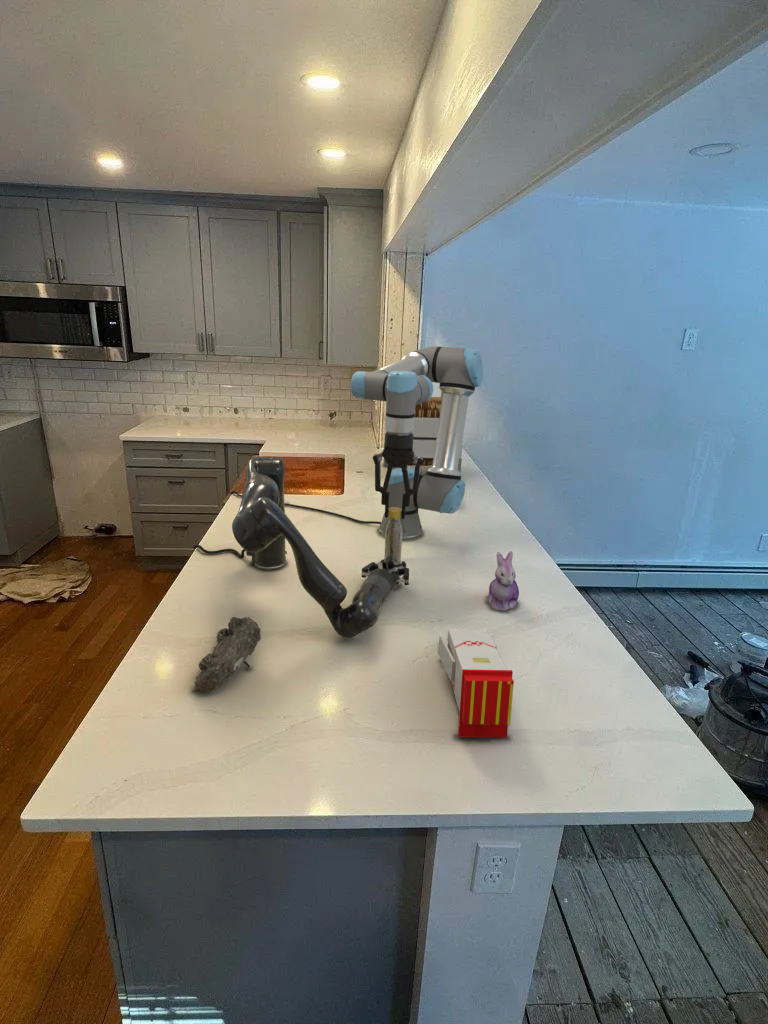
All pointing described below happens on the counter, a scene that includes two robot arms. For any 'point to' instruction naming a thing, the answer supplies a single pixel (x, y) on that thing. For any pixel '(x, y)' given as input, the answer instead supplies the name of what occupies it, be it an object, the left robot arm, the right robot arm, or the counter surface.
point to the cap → (394, 512)
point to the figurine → (503, 584)
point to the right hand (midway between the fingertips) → (394, 516)
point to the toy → (478, 682)
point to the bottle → (393, 545)
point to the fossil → (228, 653)
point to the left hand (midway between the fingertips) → (394, 562)
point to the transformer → (426, 431)
